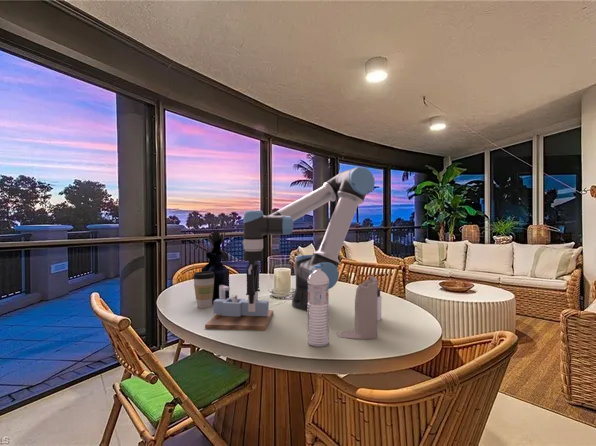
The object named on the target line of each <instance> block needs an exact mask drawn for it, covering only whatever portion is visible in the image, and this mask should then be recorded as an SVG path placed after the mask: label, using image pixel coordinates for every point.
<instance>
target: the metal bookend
mask: <svg viewBox="0 0 596 446" xmlns="http://www.w3.org/2000/svg"><path fill="white" fill-rule="evenodd" d="M377 288H378V278H377V277H375V276H373V275H370V276H369V279H365V280H364V282H363V283H359V284H358V286H357V287H356V290H355V297H354V330H343V331H341V332H336V336H337V337H338V338H346V339H350V340H351V339H352V340H353V339H354V340H373V339H376V338H377V337H378V321H377V306H378V302H377Z"/></svg>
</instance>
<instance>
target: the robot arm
mask: <svg viewBox="0 0 596 446" xmlns="http://www.w3.org/2000/svg"><path fill="white" fill-rule="evenodd" d="M375 184H376V183H375V177H374V175H373V173H372V172H371V170H369V169H368V168H366V167H364V166H355V167H352V168H351V169H346V170H344V171H341V172H339V173H338V174H336V175H335V176H333V177H331V178H330V179H329V180H327V181H325V182H323V185H322V186H320V187H318V188H317V189H315V190H313V191H311V192H309V193H307V194H306V195H304V196H302V197H300V198H299V199H297V200H295V201H293V202H291V203H289V204H288V205H286V206H284V207H282V208H280V209H278V210H277V211H274V212H273V213H271V214H268V215H264V212H263V211H262V210H245V211H244V213H243V221H242V223H243V227H242V228H243V241H242V242H241V244H243V251H242V252H243V253H242V254H243V255H242V257H243V261H245V262H248V265H247V266H246V270H245V272H246V294H245V295H246V296H247V298H248V299H247V300H248V312H256V300H259V292H260V291H261V289H260V264H259V262H260V261H263V260H264V251H263V249H264V236H265V235H275V236H276V235H279V236H280V235H291V234H292V233H293V230H294V222H295V221H296V220H298V219H300V218H302V217H304V216H305V215H307V214H309V213H312V212H313V211H315V210H316V209H319V208H320V207H322V206H323V205H325V204H327V203H329V202H335V201H337V202H336V205H335V208H334V211H333V212H332V214H331V217H330V219H329V223H328V225H327V228H326V230H325V233H324V235H323V238H322V240H321V243H320V245H319V248H318V249H317V250H315V251H313V253H312V254H298V255H297V256H295V263H294V264H295V289H294V293H293V296H292V300H291V306H292V307H293V308H296V309H300V310H307V309H308V308H307V306H308V305H307V303H308V283H307V281H308V280H307V279H308V277H309V275H310V274H311V273H312V272H313V271H315V270H316V269H315V265H321V270H322V271H323V272H324V273H325V274H326V275H327V276H328V278H329V284H328V290H330V289H332V288H333V287H335V285H337V283H338V280H339V276H340V273H339V269H338V268H339V265H340V260H339V254H340V252H341V249H342V247H343V245H344V242H345V240H346V236H347V234H348V232H349V229H350V227H351V224H352V222H353V219H354V216H355V213H356V211H357V209H358V208H359V207H358V206H359V205H361V204H363V203H364V201H365V199H366V196H367V195H368V194H370V193H371V192H372V191H373V189H374V187H375Z"/></svg>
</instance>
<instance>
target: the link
mask: <svg viewBox="0 0 596 446" xmlns="http://www.w3.org/2000/svg"><path fill="white" fill-rule="evenodd" d="M268 310H269V300H260V299H258V300H256V312H248V299H245V298H238V297H237V303H233V302H232V297H231V298H230V297H229V298H227V299H216V300H214V302H213V315H216V314H222V316H239V317H240V316H241V315H250V316H267V315H268Z"/></svg>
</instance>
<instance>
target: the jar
mask: <svg viewBox="0 0 596 446" xmlns="http://www.w3.org/2000/svg"><path fill="white" fill-rule="evenodd" d="M377 302H378V306H377V322H379V321H382V296H381V288H379V287H377Z"/></svg>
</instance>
